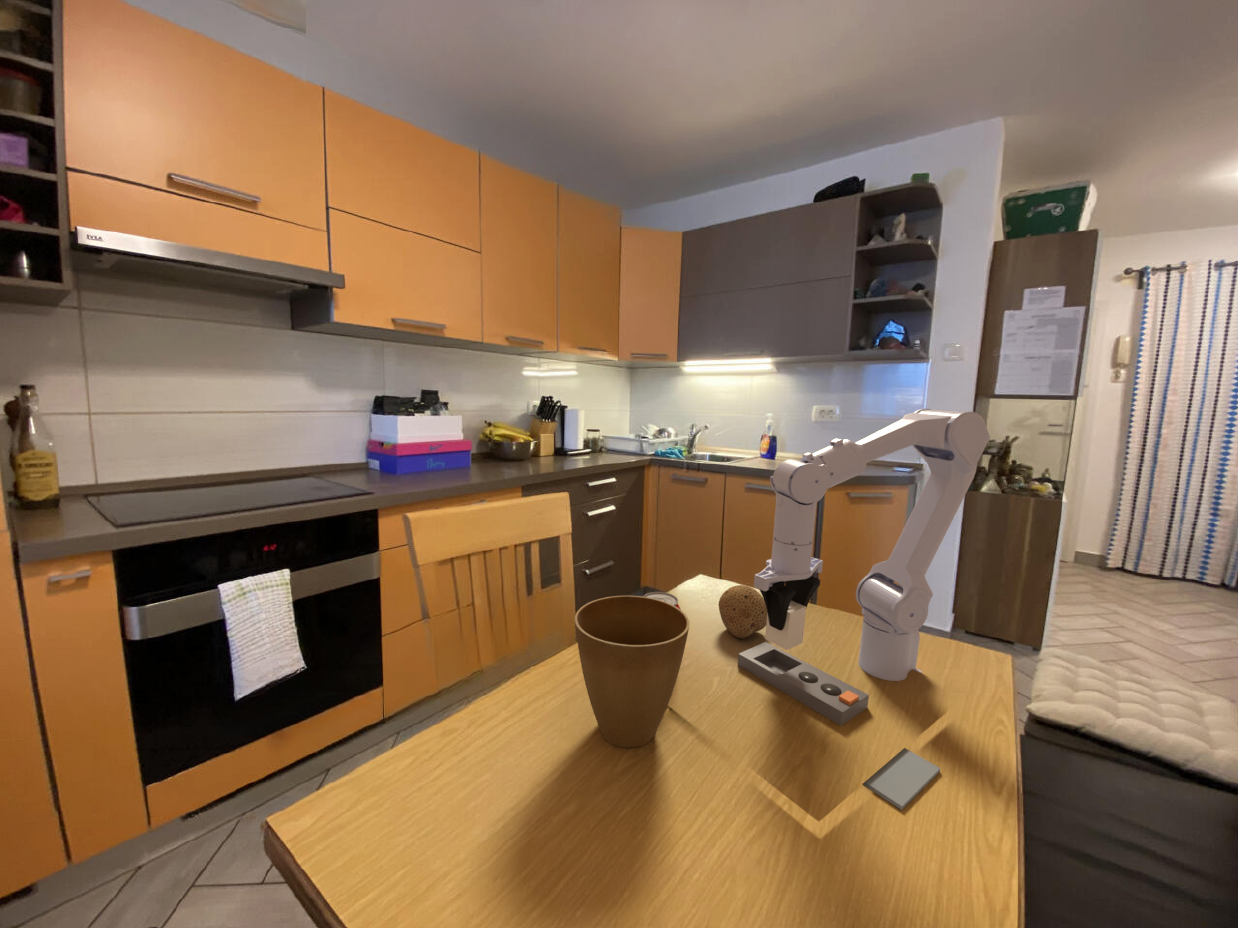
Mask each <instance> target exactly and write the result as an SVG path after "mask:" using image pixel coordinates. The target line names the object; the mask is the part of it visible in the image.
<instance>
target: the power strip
mask: <svg viewBox="0 0 1238 928" xmlns="http://www.w3.org/2000/svg"><path fill="white" fill-rule="evenodd" d="M737 656H738V657H737V666H739V667H740V668H741V669H742V670H745V671H747V672H748V673H750V674H752V675H754V676H755V677H757V678H759V679H760V680H762V681H763V682H765V683H767V684H769V685H771V686H772V687H774V688H775V689H778V690H779V691H781V692H783V693H785V694H786V695H788V696H789V697H791V698H793V699H795V700H796V701H798V702H799V703H801V704H802V705H804V706H806V707H808V708H810V709H811V710H813V711H815V712H816V713H818V714H820V715H822V716H823V717H824V718H827V719H828V720H829V721H832V722H833V723H835V724H836V725H839V726H840V727H842V726H844V724H846V723H848V722H849V721H850V720H852V719H854V718H855V717H856V716H858V715H859V714H861V713H862V712H864V711H865V710H866V709H868V707H869V697H870V694H868V693H867V692H864V691H863V690H860V689H859V688H856V687H854V686H853V685H851V684H850V683H846V682H845V681H843V680H841V679H839V678H837V677H835V676H833V675H831V674H829V673H827V672H825V671H823V670H822V669H819V668H817V667H816V666H813V665H812V664H810V663H807V662H806V661H804V660H802V659H800V658H798V657H796V656H794V655H792V654H791V653H789V652H786V651H784V650H782V649H780V648H778V647H777V646H774V645H773V644H771V643H769V642H767V641H764V642H761V643H760V644H758V645H755V646H753V647H751V648H748V649H745V650H743V651H741V652H739V653H738V655H737Z"/></svg>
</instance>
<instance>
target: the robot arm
mask: <svg viewBox="0 0 1238 928" xmlns="http://www.w3.org/2000/svg"><path fill="white" fill-rule="evenodd" d="M990 439H991V435H990V433H989V430H988V427H987V425H986V422H985V420H984V418H983V416H981V415H980V414H979V413H977V412H975V411H951V410H940V409H939V410H938V409H932V408H921V409H917V410H916V411H914V412H910V413H906V414H904V415H903V416H902V418H901V419H900V420H897V421H895V422H893V423H891V424H890V425H888V426H886V427H884V428H882V429H880V430H877V431H875V432H874V433H872V434H870V435H868V436H866V437H864V438H862V439H860V440H858V441H853V440H850V439H846V438H845V439H841V438H834V439H832V440H830V441H829V445H828V446H826V447H824V448H821V449H819V450H816V451H815V452H813V453H811V452H805V453H804V454H802V457H801V458H800V460H797V459H786V460H784V461H781V462H780V463H779V464H778V465H777V467H776V468H775V470H774V471H773V475H771V476H770V477H769V482H770V486H771V488H772V490H773V491H774V493H775V510H774V520H773V521H774V522H773V523H774V524H773V534H772V535H773V537H772V547H771V548H772V550H771V558H770V559H767V560H765V565H766V567H765V568H764V569H762V570H761V571H760V572H758V573H755V574H754V578H753V588H756V589H757V590H759V592H760V595H761V596H762V597H763V599H764V601H765V604H766V608H767V613H768V618H769V624H770V626H772V627H774V628H776V629H778V630H783V628H784V626H785V622H786V617H787V611H788V608H789V605H790V602H791V601H794V602H796V603H798V604H801V605H803V606H806V609H807V607H808V605H809V603H810V600H811V598H812V597H813V595H814V593H815V592H816V590H817V589H818V588H819V587H820V586H821V579H819V578H818V577H815V576H813V574H814V573H817V574H820V573H822V572H823V566H824V564H823V563H824V561H823V560H822V559H820V558H816V557H812V554H813V546H814V545H813V544H814V543H813V542H814V532H815V521H816V512H817V503H818V502H819V501H820V500H822V498H823V497H824V496H825V494H826V492H827V491H828V490H829V489H830V488H832V487H834V486H836V485H837V486H838V485H840V484H842V483H844V482H846V481H848V480H851V479H853V478H855V477H857V476H859V475H862V474H863V473H864V472H865V469H866V467H867V463H870V462H871V461H872V462H873V461H875V460H878V459H880V458H882V457H886V456H887V455H888V456H889V455H890V454H893V453H895V452H898V451H901V450H904V449H907V448H909V447H912V448H914V449H915V451H916V452H917V453H918V454H919V456H920V457H921V458H922V460H923V461H925V463H927V466H928V468H929V470H930V471H929V472H930V475H929V477H928V479H927V481H926V482H925V485H924V486H923V489H922V490H921V493H920V495H919V496H918V498H917V501H916V503H915V505H914V507H913V509H912V511H911V513H910V515H909V517H908V519H907V521H906V524H905V525H904V527H903V529H902V531H901V533H900V535H899V537H898V539H897V541H896V543H895V546H894V548H893V549H892V551H891V554H890V555H889V557H888V559H886V560H884V561H880V562H878V563H874V564H873V565H872V567H871V569H870V571H869V572H868V573H867V574H866V576H865V577H863V578H862V579H861V580H860V581H859V583H858V584H857V586H856V590H855V599H856V601H857V603H858V604H859V606H860V607H861V614H862V615H863V619H862V626H861V627H862V628H861V636H860V645H859V653H858V666H859V668H860V669H861V670H862V671H864V672H865V673H866V674H869V675H871V676H872V677H875V678H878V679H881V680H885V681H889V682H890V681H891V682H892V681H893V682H900V681H903V680H905V679H906V678H907V677H908V674H909V672H911V671H912V670H913V671H914V672H915V671H916V672H918V673H920V674H922V670H921V669H918V668H917V663H918V662H917V661H918V654H919V647H920V640H921V638H920V637H921V635H920V631H919V629H921V628H922V627H923V625H924V624H925V622H926V620H927V619H928V614H929V605H930V602H931V599H932V598H933V596H934V595H933V591H932V589H931V587H930V585H929V583H928V582H927V581H928V580H927V579H926V576H925V575H926V573H928V572H927V571H928V570H929V568H930V565H931V564H932V561H933V560H934V558H935V556H936V553H937V552H938V549H939V548H940V546H941V544H942V542H943V540H944V538H945V536H946V534H947V532H948V530H949V528H950V526H951V524H952V522H953V520H954V518H955V516H956V514H957V512H958V511H959V508H960V506H961V504H962V502H963V500H964V498H965V496H966V494H967V492H968V490H969V488H970V486H971V484H972V482H973V480H974V478H975V475H976V472H977V468H978V462H979V461H980V459H981V457H982V454H983V452H984V450H985V448H986V447H987V444H988V442H989V441H990ZM895 582H896V583H898V584H899V585H898V584H896V583H895Z"/></svg>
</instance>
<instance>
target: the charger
mask: <svg viewBox="0 0 1238 928" xmlns="http://www.w3.org/2000/svg"><path fill="white" fill-rule="evenodd" d="M806 610H807V608H806V606H803V605H801V604H798V603H796V602H794V601H791V602H790V605H789V608H788V611H787V617H786V622H785V626H784V628H783V630H778V629H776V628H774V627H772V626H770V624H769V618H768V613H767V624H766V626H765V628H766V629H765V640H766V641H768V642H770V643H772V644H774V645H776V646H778V647H780V648H782V649H784V650H786V651H787V650H791V649H792V648H794V647H797V646H799V645H802V644H803V643H804V633H805V621H806Z"/></svg>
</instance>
